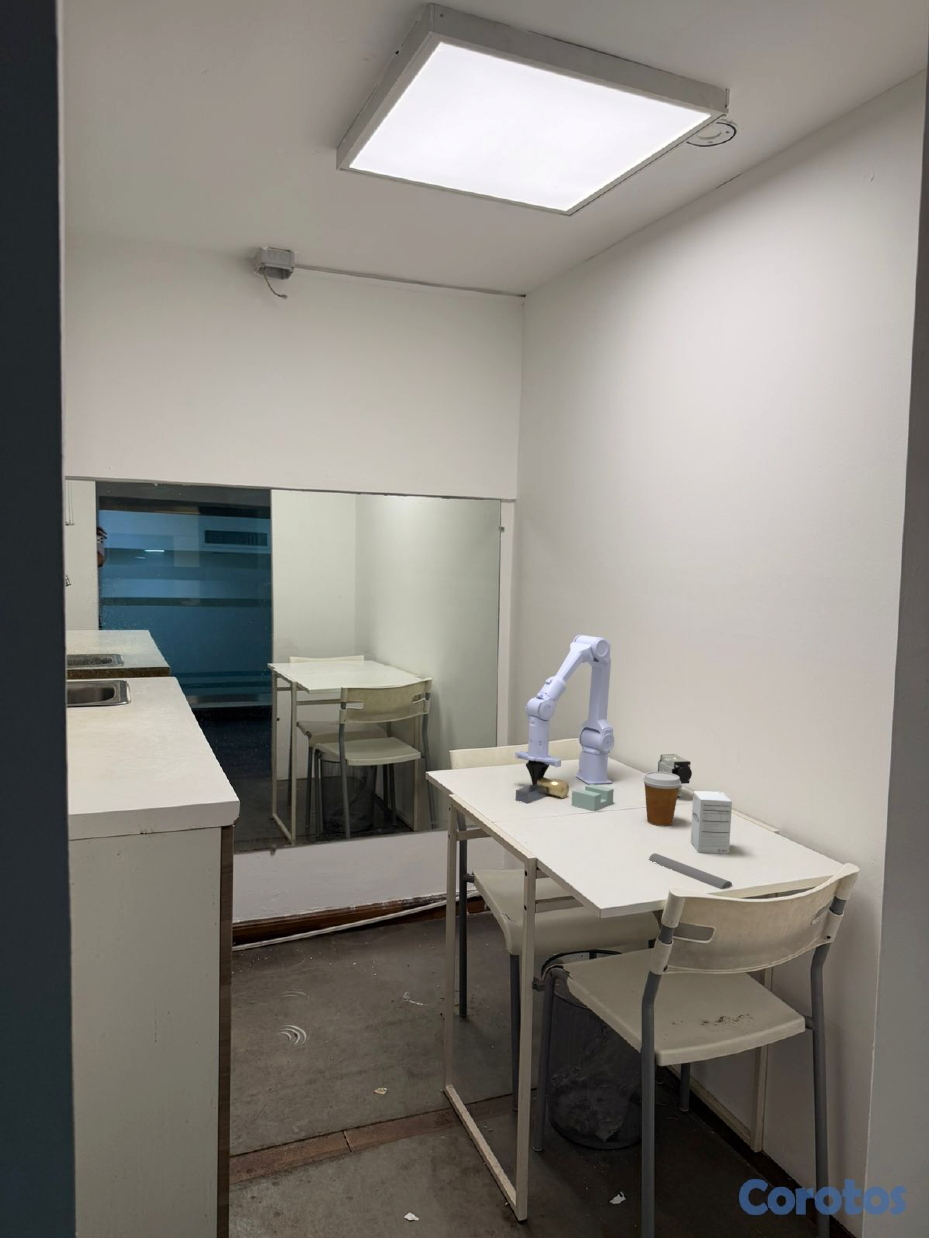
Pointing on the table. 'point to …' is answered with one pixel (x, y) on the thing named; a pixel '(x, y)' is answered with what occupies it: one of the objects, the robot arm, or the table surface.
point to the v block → (592, 797)
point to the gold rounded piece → (554, 787)
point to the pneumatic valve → (676, 768)
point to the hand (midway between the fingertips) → (536, 787)
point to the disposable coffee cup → (661, 797)
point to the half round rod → (690, 871)
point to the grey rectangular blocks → (531, 793)
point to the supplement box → (711, 822)
